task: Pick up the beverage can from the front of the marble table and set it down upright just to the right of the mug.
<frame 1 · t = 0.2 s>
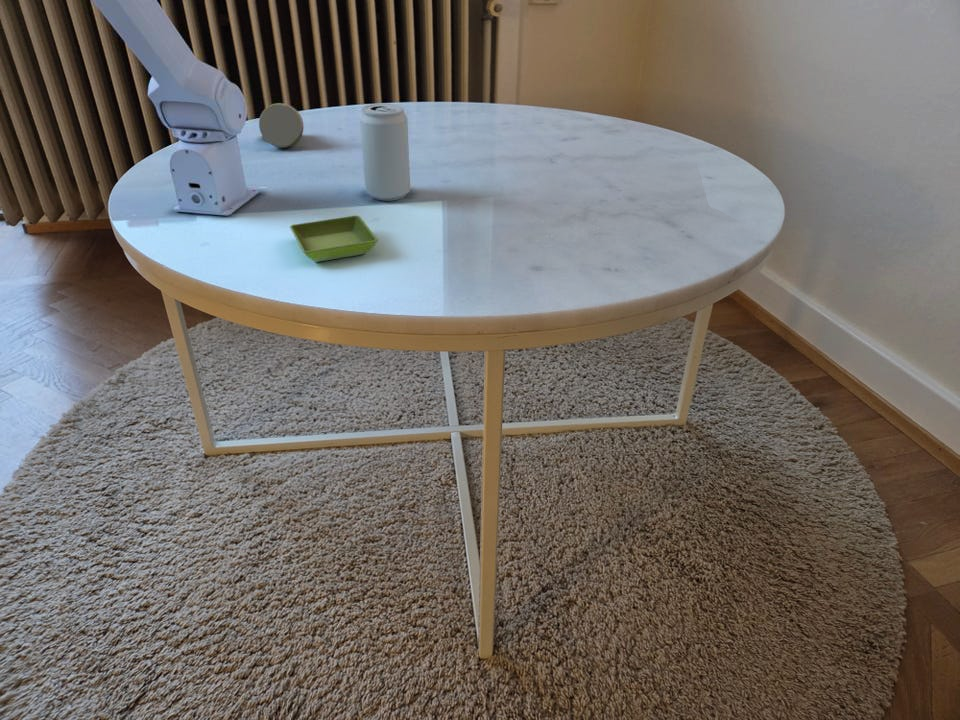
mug: (284, 143, 118), on the table
green tray: (334, 250, 81), on the table
beverage can: (388, 196, 97), on the table
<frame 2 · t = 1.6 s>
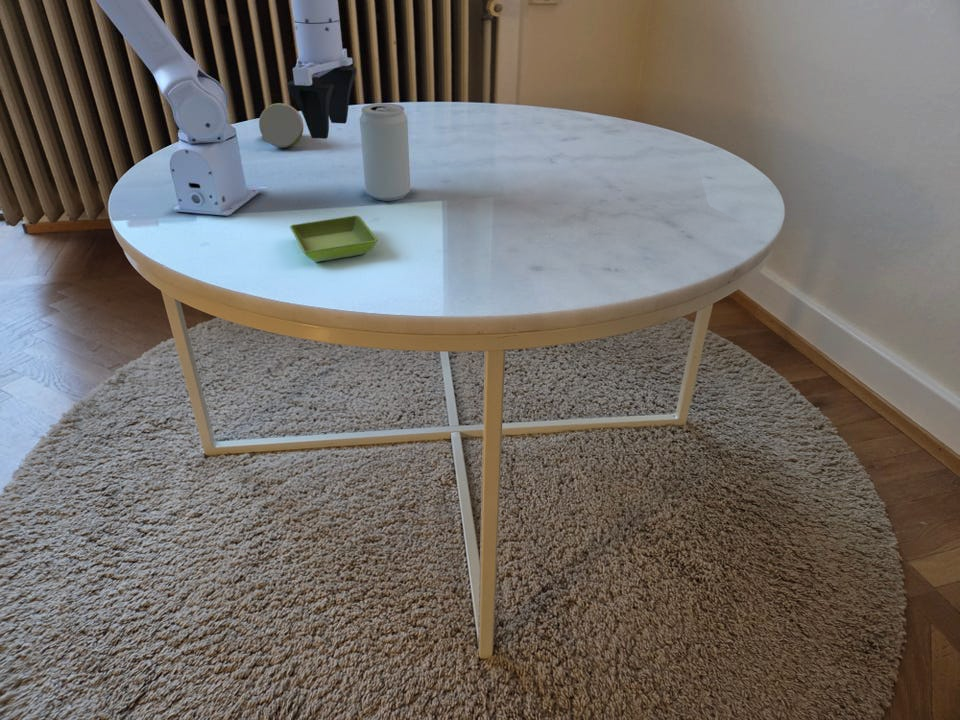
hand: (329, 130, 93), 9 cm above the table, tool pointing down, fingers open, 7 cm apart
nothing on the table moved.
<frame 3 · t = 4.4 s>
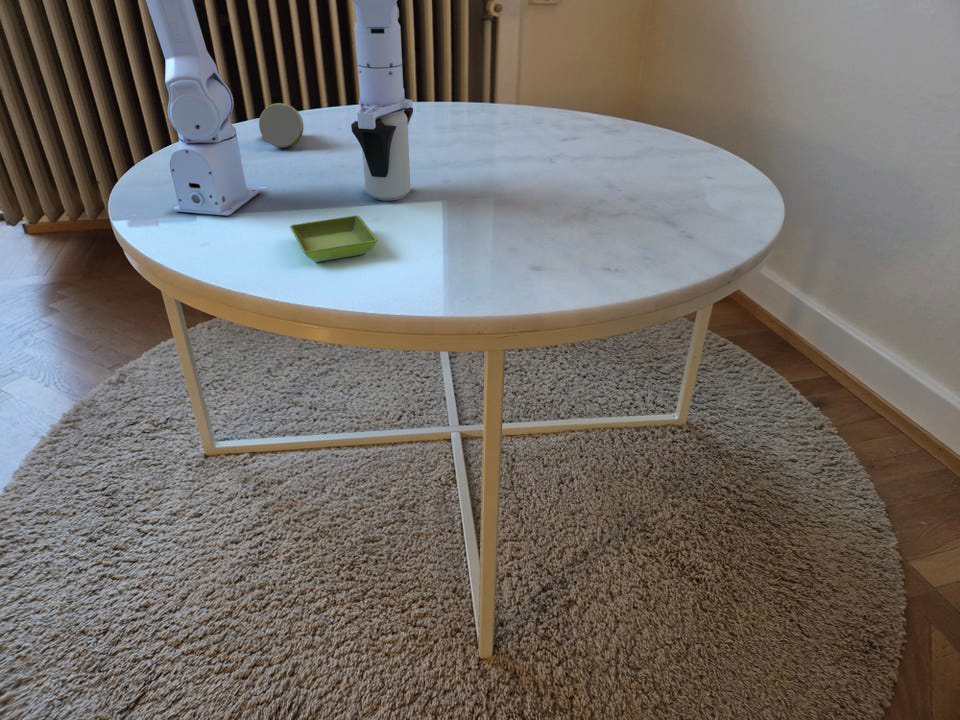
hand: (386, 168, 95), 4 cm above the table, tool pointing down, fingers closed on beverage can, 6 cm apart
beverage can: (388, 196, 97), on the table, touching gripper
everything else where it was.
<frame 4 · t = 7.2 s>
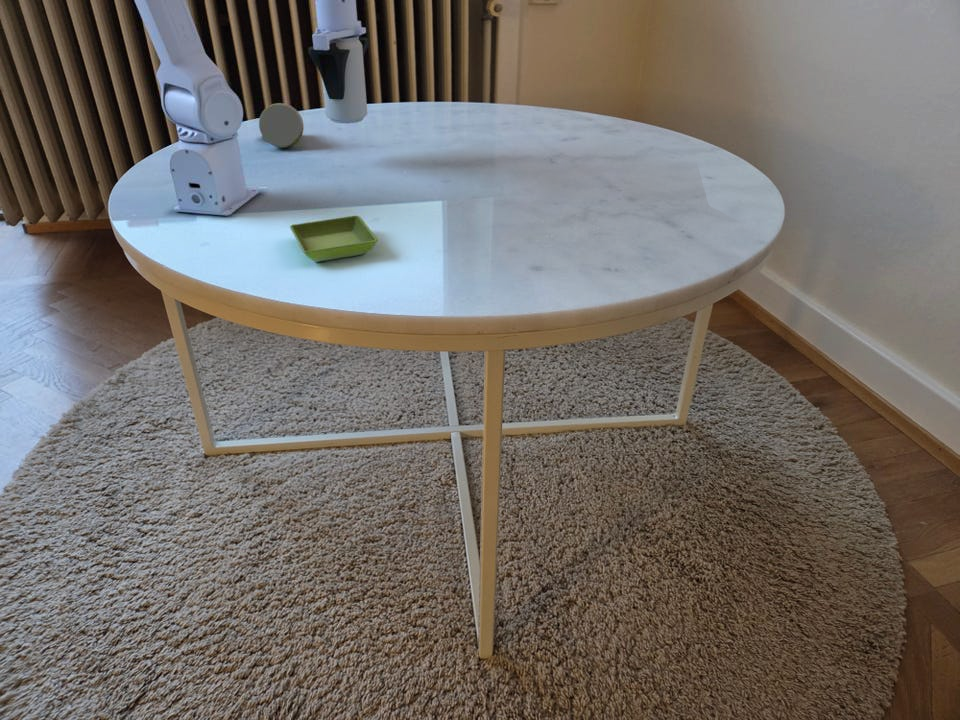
hand: (344, 93, 103), 10 cm above the table, tool pointing down, fingers closed on beverage can, 6 cm apart
beverage can: (347, 120, 105), point 6 cm above the table, touching gripper
everything else where it was.
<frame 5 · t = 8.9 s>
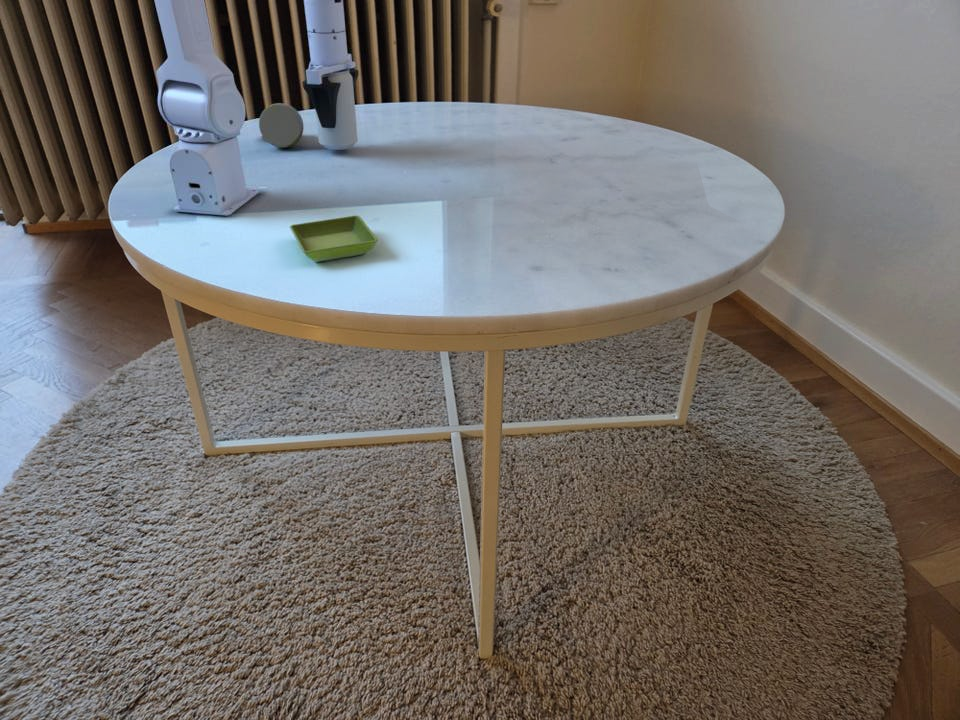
hand: (335, 122, 111), 5 cm above the table, tool pointing down, fingers closed on beverage can, 6 cm apart
beverage can: (339, 146, 113), point 1 cm above the table, touching gripper
everything else where it was.
when the fingers open (4 cm above the table, at t = 9.9 s): beverage can stays where it is, on the table.
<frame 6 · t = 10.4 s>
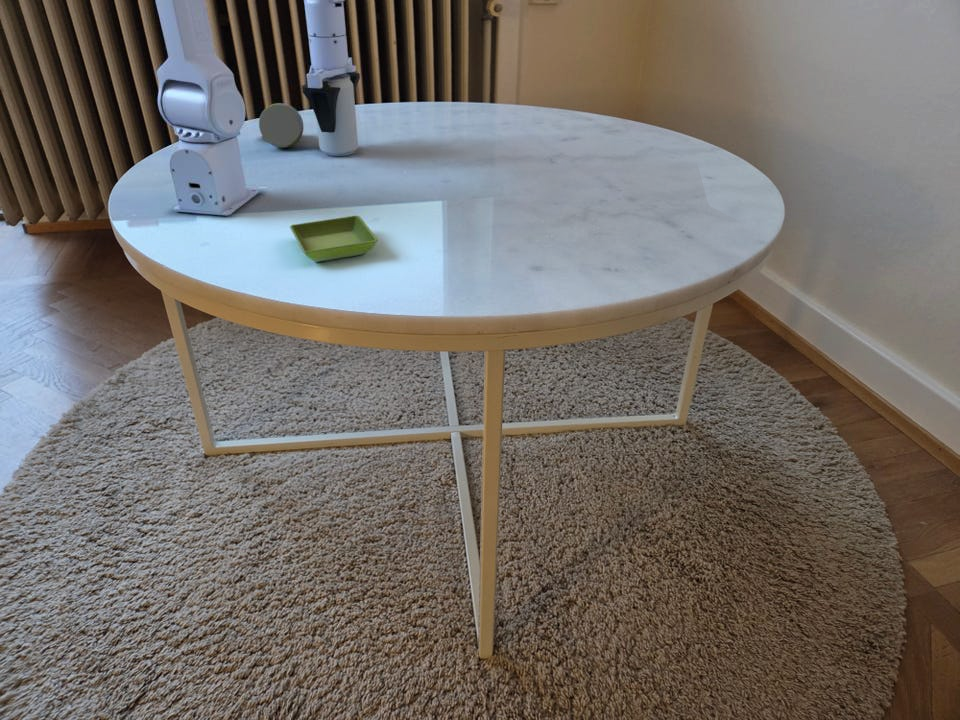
hand: (336, 125, 111), 4 cm above the table, tool pointing down, fingers open, 7 cm apart
beverage can: (339, 152, 114), on the table
everything else where it was.
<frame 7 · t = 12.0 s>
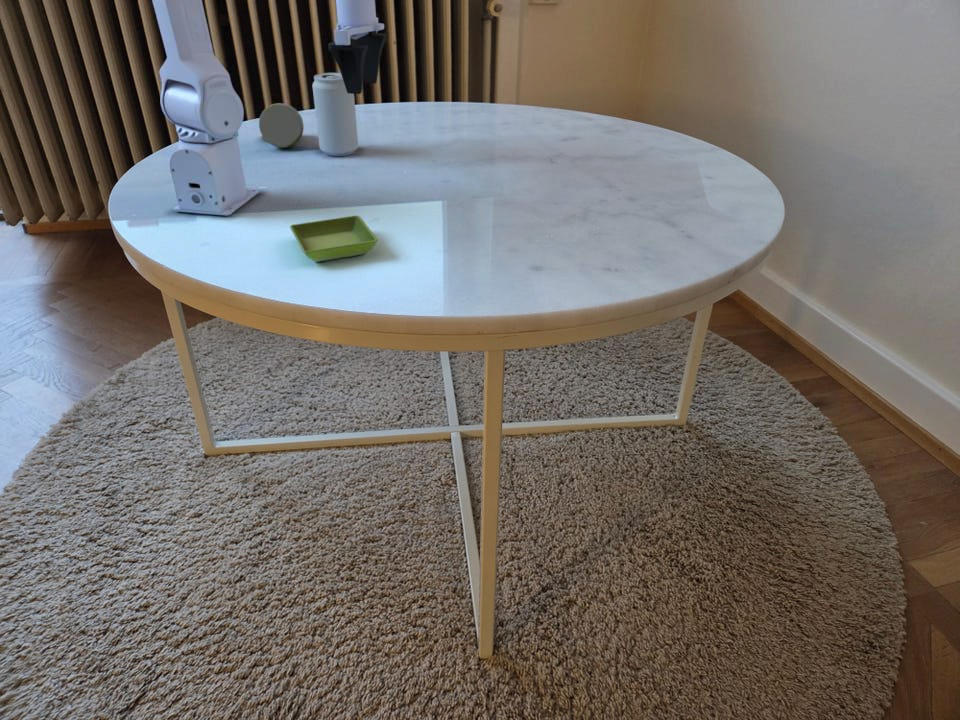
hand: (362, 87, 107), 10 cm above the table, tool pointing down, fingers open, 7 cm apart
nothing on the table moved.
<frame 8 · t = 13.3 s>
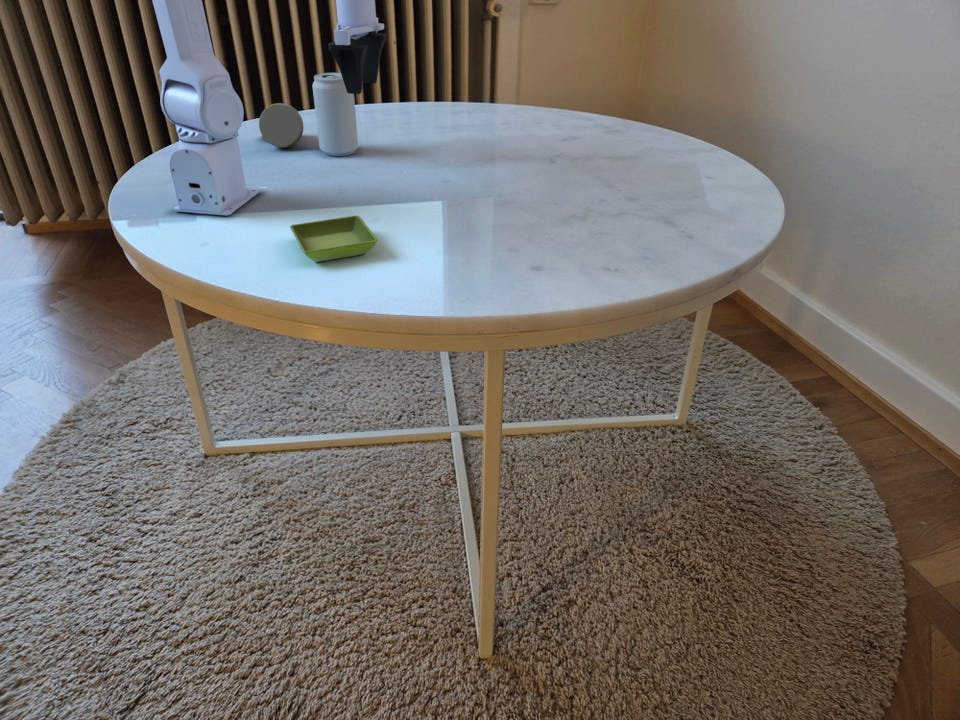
hand: (362, 87, 107), 10 cm above the table, tool pointing down, fingers open, 7 cm apart
nothing on the table moved.
at the end: beverage can inside the target area on the table beside the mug (1.0 cm from its centre), on the table; beverage can tilted 0°; the gripper is holding nothing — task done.
